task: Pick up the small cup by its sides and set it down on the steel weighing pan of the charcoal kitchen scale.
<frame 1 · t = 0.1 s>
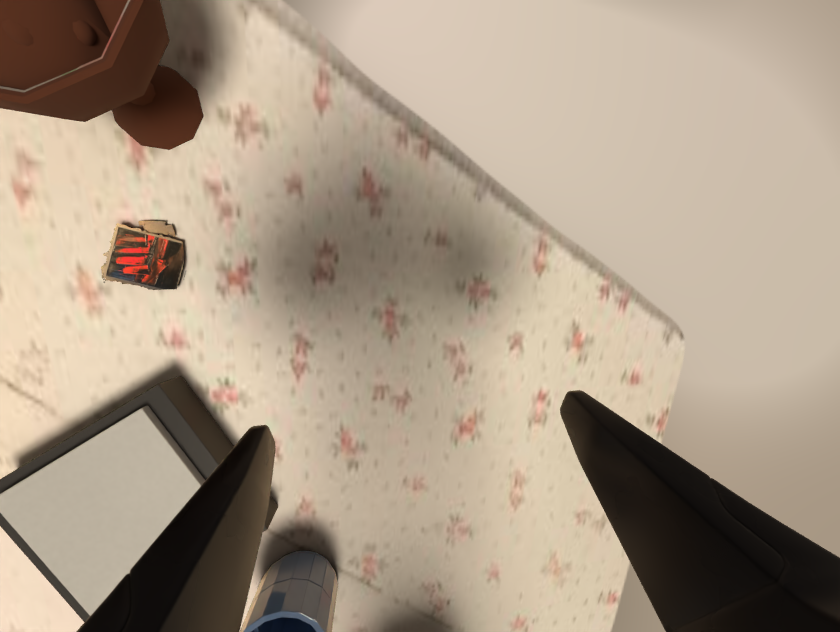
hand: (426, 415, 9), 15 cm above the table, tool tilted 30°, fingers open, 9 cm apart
kitchen scale: (155, 491, 22), on the table
small cup: (300, 582, 24), on the table
ice cream bowl: (160, 109, 21), on the table
red black picture tile: (151, 255, 21), on the table
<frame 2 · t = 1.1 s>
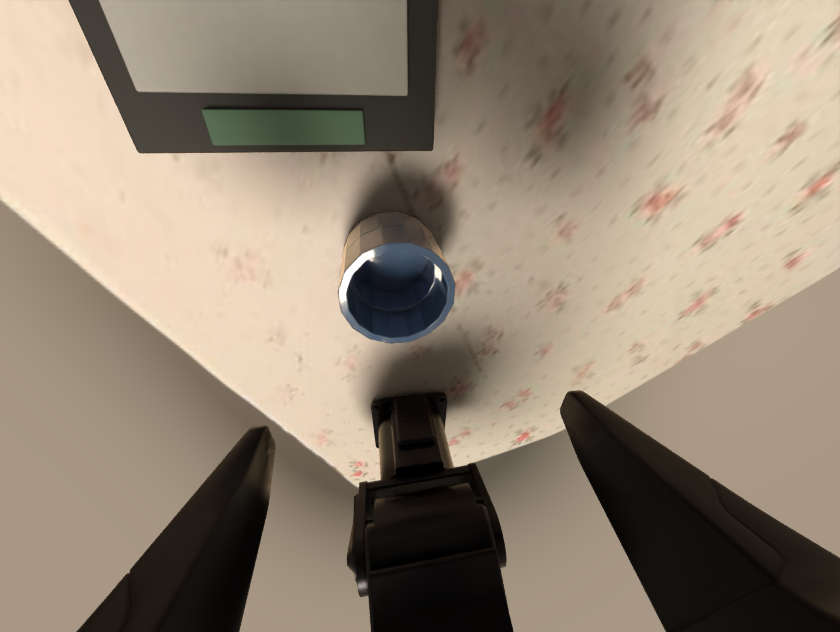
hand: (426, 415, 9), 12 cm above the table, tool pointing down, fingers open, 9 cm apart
small cup: (390, 255, 19), on the table
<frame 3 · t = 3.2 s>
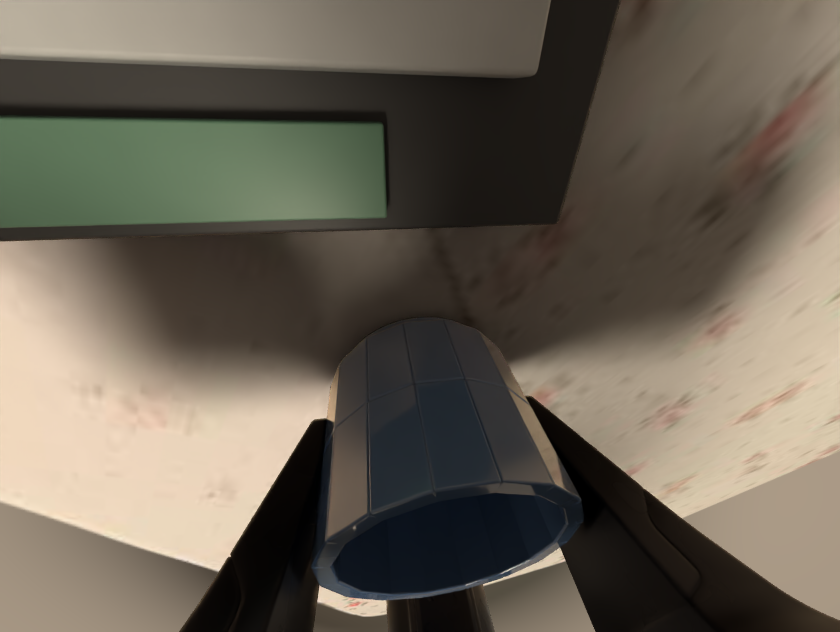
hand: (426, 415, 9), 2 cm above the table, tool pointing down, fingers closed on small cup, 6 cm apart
small cup: (418, 378, 10), on the table, touching gripper
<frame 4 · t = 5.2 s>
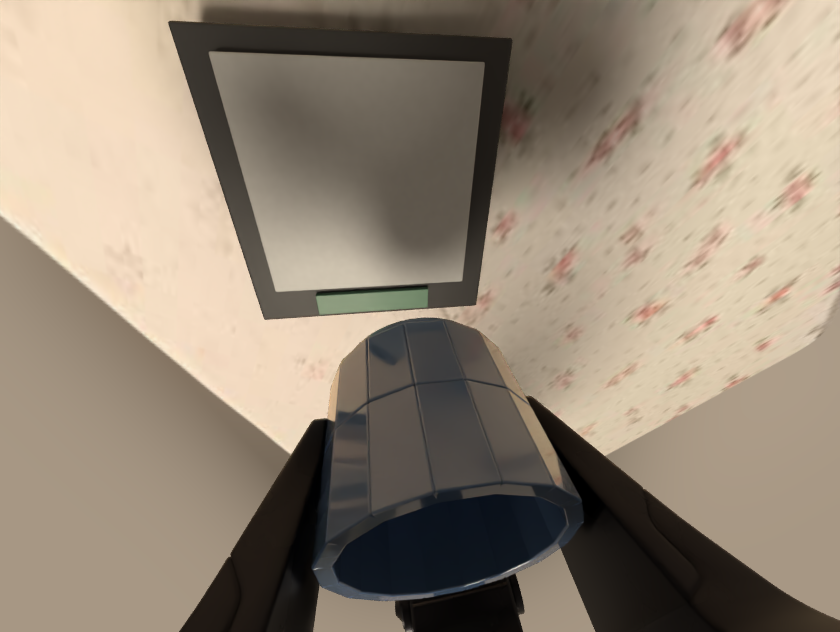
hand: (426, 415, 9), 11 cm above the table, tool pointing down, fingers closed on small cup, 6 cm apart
kitchen scale: (366, 192, 16), on the table
small cup: (418, 378, 10), point 10 cm above the table, touching gripper
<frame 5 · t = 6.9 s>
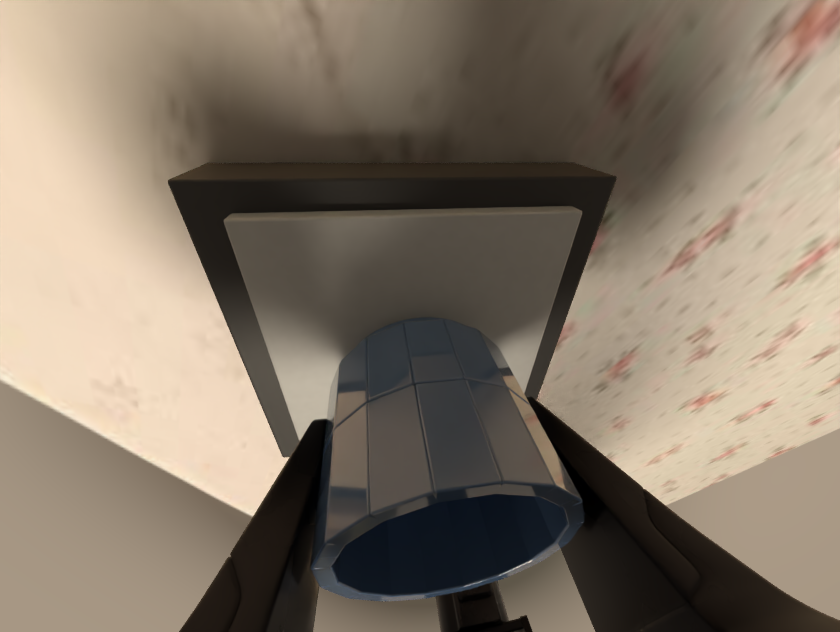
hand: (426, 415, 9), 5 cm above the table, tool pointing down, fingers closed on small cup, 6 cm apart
kitchen scale: (405, 313, 14), on the table
small cup: (418, 378, 10), point 4 cm above the table, touching gripper
when the fingers open (4 cm above the table, at t = 7.6 s): small cup stays where it is, resting on kitchen scale.
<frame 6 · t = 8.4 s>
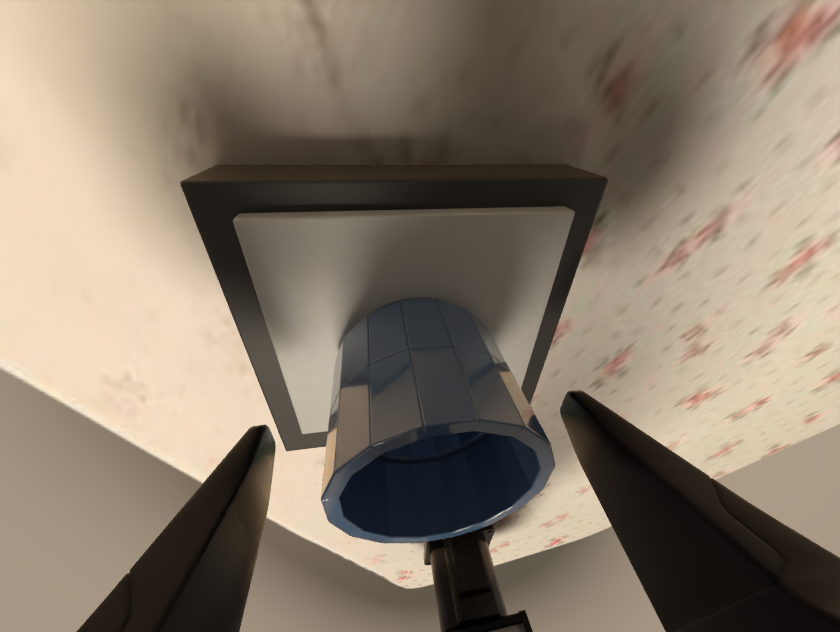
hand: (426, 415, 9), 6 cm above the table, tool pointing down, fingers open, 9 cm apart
kitchen scale: (405, 310, 14), on the table
small cup: (414, 355, 12), point 3 cm above the table, touching kitchen scale
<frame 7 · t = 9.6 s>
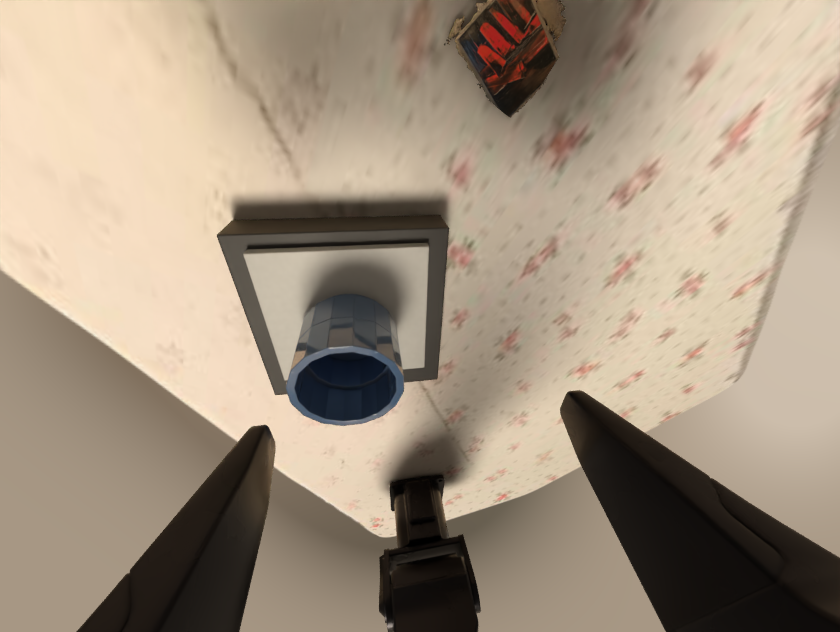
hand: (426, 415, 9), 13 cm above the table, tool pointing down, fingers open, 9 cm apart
kitchen scale: (351, 302, 22), on the table
small cup: (350, 328, 19), point 3 cm above the table, touching kitchen scale
red black picture tile: (511, 45, 15), on the table
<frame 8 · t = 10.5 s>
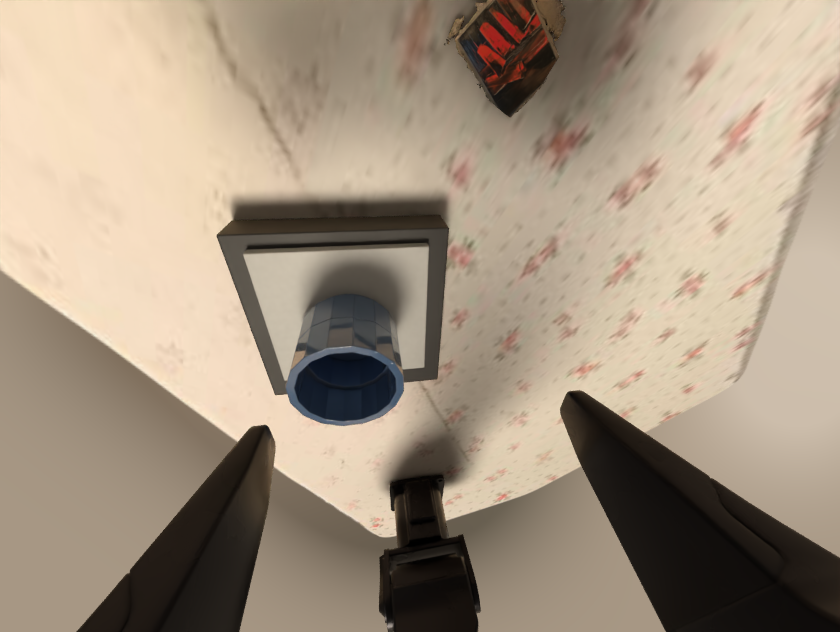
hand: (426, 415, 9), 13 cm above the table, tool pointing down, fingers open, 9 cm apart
kitchen scale: (351, 302, 22), on the table
small cup: (350, 328, 19), point 3 cm above the table, touching kitchen scale
red black picture tile: (510, 45, 15), on the table
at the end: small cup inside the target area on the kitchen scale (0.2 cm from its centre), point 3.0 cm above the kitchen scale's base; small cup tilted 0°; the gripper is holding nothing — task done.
